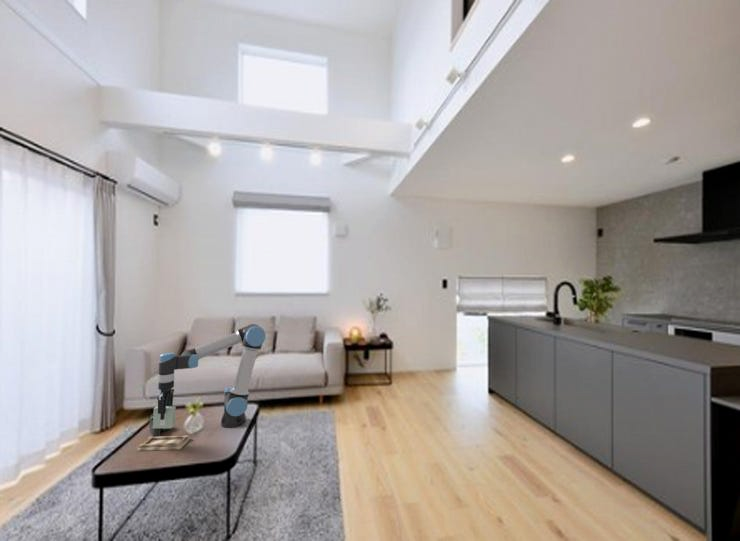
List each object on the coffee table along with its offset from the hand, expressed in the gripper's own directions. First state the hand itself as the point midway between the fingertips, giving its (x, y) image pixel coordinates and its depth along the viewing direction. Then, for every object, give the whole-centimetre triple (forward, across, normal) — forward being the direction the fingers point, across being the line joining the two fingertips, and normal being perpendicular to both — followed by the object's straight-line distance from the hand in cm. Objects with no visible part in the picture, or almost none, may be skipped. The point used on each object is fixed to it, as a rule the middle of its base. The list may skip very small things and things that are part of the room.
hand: (164, 423), depth 184 cm
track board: (+12, 0, 0) cm, 12 cm away
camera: (+12, -17, -11) cm, 23 cm away
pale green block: (+2, 0, 0) cm, 2 cm away
